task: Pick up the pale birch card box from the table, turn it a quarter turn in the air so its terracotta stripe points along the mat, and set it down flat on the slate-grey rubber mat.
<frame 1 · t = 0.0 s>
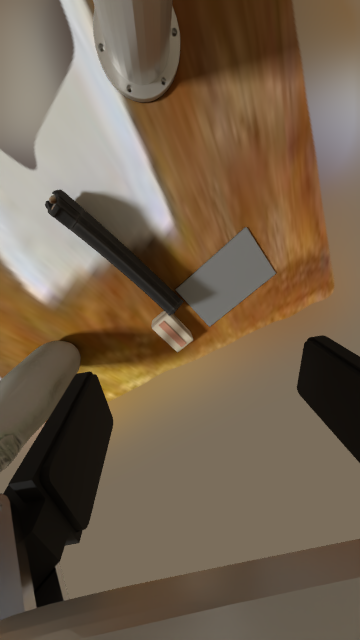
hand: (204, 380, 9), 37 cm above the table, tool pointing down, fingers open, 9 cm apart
mat: (225, 281, 45), on the table
card box: (171, 326, 49), on the table
magazine: (128, 258, 42), on the table
glass bottle: (66, 350, 49), on the table
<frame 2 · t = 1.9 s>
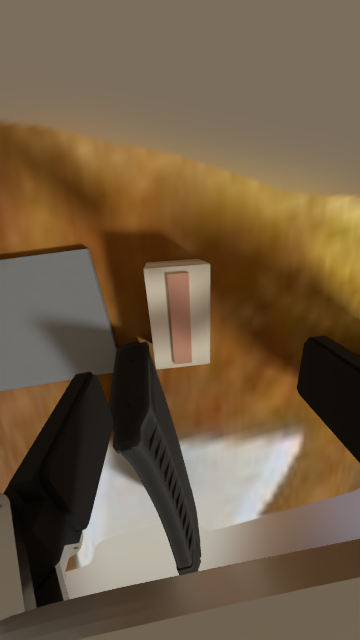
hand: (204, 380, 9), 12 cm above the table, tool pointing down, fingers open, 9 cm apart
mat: (6, 331, 19), on the table
card box: (175, 305, 20), on the table
magazine: (164, 430, 27), on the table
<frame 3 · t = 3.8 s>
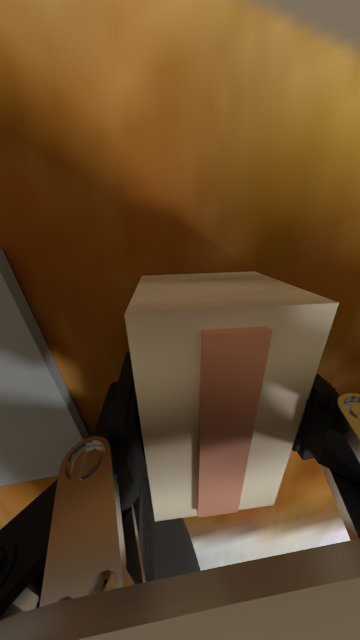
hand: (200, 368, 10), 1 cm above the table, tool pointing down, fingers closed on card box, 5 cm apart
card box: (197, 358, 10), on the table, touching gripper
magazine: (170, 525, 18), on the table
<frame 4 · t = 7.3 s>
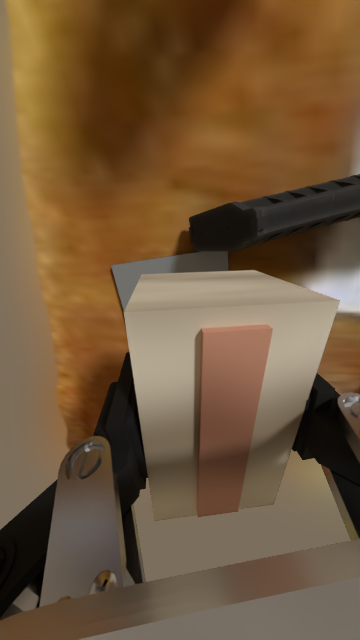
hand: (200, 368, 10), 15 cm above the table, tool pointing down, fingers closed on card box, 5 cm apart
mat: (181, 333, 26), on the table
card box: (197, 358, 10), point 14 cm above the table, touching gripper
magazine: (322, 202, 22), on the table
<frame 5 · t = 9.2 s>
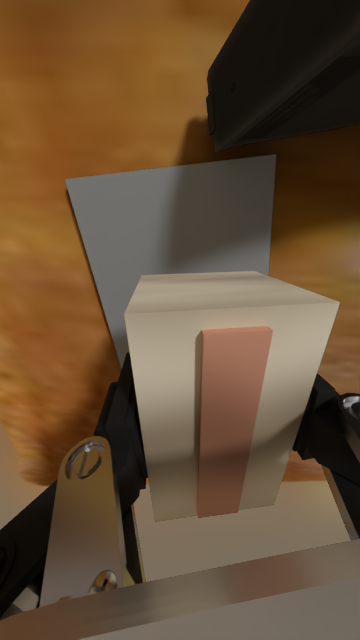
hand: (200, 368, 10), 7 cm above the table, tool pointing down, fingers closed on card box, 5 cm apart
mat: (187, 314, 16), on the table
card box: (197, 358, 10), point 7 cm above the table, touching gripper
when the fingers open (3 cm above the table, at t = 10.9 s): card box drops 1 cm, resting on mat.
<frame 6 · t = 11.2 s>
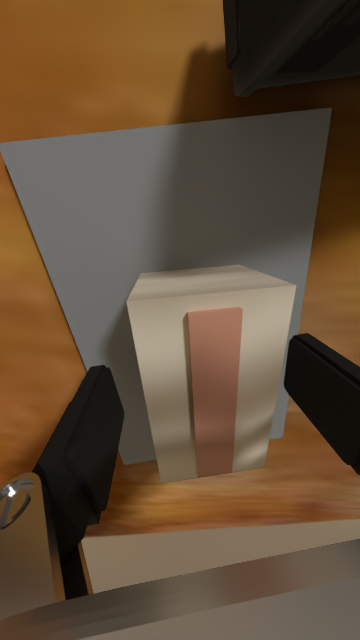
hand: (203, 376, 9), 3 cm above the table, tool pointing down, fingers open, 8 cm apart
mat: (192, 340, 12), on the table
card box: (194, 345, 11), point 1 cm above the table, touching mat
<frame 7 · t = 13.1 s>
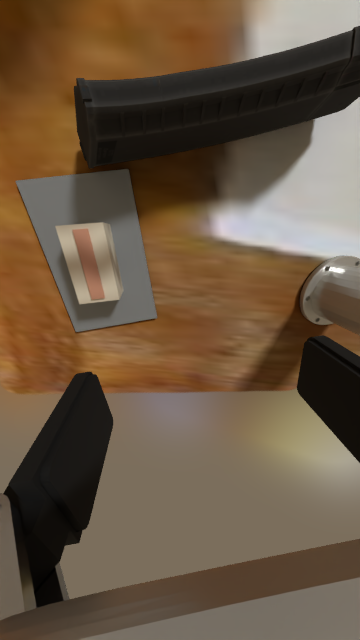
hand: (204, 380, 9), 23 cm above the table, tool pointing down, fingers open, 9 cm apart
mat: (99, 260, 28), on the table
card box: (99, 261, 27), point 1 cm above the table, touching mat
magazine: (209, 131, 24), on the table
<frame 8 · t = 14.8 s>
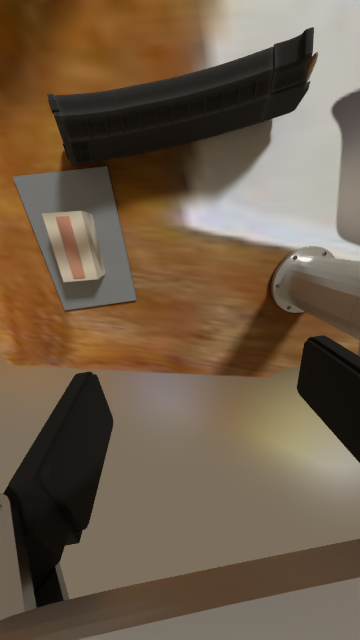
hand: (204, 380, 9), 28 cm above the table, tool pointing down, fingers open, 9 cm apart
mat: (84, 246, 32), on the table
card box: (83, 247, 31), point 1 cm above the table, touching mat
magazine: (176, 132, 27), on the table
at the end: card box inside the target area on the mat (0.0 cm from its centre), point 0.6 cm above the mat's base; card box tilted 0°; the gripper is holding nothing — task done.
